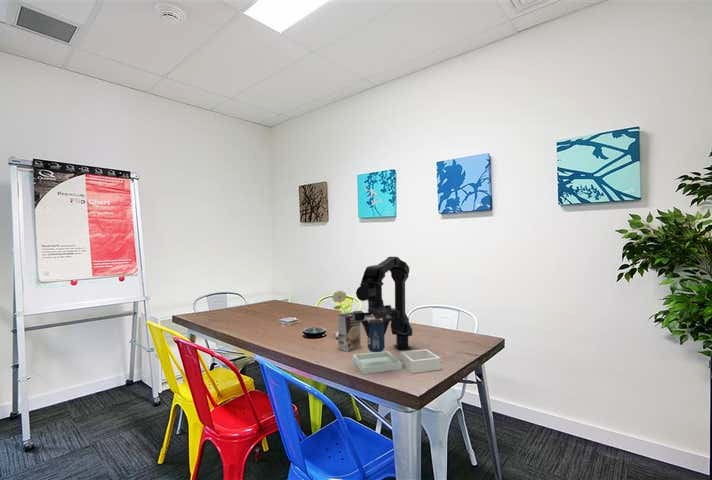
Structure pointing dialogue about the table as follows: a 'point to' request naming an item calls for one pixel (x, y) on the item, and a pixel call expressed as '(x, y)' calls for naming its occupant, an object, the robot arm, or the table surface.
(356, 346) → the coffee box
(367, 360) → the tray
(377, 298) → the robot arm
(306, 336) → the table surface
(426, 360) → the pale square open box
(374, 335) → the soda can
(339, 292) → the flower in vase
